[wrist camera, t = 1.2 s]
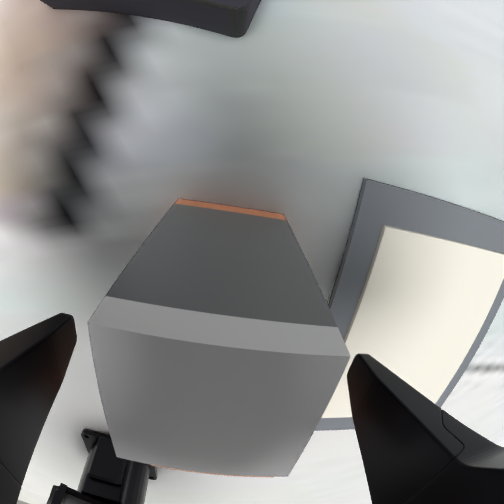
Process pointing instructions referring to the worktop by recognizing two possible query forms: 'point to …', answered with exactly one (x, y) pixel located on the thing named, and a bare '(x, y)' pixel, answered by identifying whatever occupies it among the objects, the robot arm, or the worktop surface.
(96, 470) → the robot arm
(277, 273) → the grey square block
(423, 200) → the writing mat
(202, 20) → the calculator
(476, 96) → the worktop surface
